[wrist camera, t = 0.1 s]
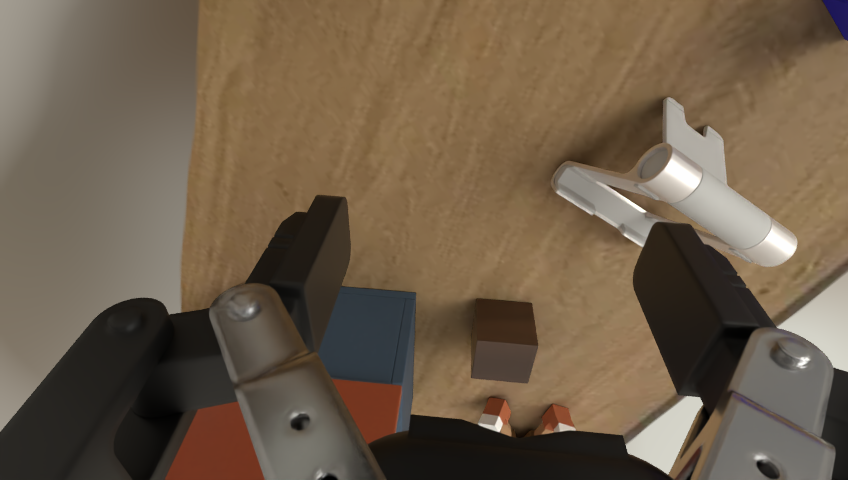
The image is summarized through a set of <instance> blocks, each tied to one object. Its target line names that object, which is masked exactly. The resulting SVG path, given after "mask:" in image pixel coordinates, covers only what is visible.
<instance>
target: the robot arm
mask: <svg viewBox="0 0 848 480" xmlns="http://www.w3.org/2000/svg"><path fill="white" fill-rule="evenodd" d="M350 250H351V243H350V230H349V217H348V205H347V200H346V198H345V197H339V196H326V195H317V196H316V197H315V199H314V201H313V202H312V204H311V206H310V208H309V210H308V212H307V213H306V212H295V213H294V214H293V215H291V216H290V217H288V218H287V219H286V220H284V221H283V222H282V223H281V225H280V226H279V228H278V230H277V231H276V233H275V235H274V237H273V238H272V240H271V241H270V243H269V245H268V248H266V250H265V251H264V253H263V254H262V256H261V258H260V259H259V261H258V263H257V264H256V266H255V268H254V269H253V271H252V273H251V274H250V276H249V278H248V279H247V281H246V283H245V284H242V285H239V286H235V287H233V288H230V289H229V290H227V291H225V292H223V293H222V294H221V295H219V296H218V297H217V298H216V299H215V300H214V302H213V303H212V305H211V307H210V308H207V309H202V310H196V311H190V312H183V313H176V314H170V315H169V314H168V312H167V309H166V307H165V306H164V304H163V303H161V302H160V301H158V300H156V299H152V298H136V299H130V300H127V301H123V302H120V303H118V304H115V305H113V306H111V307H109V308H108V309H106V310H105V311H103V312H102V313H100V314H99V315H98V316H97V317H96V318H95V319H94V320H93V321H92V322H91V323H90V325H89V326H88V327H87V328H86V329H85V331H84V332H83V333H82V334H81V336H80V337H79V338H78V339H77V340H76V342H75V343H74V344H73V345H72V346H71V347H70V349H69V350H68V351H67V352H66V354H65V355H64V356H63V357H62V358H61V360H60V361H59V362H58V363H57V364H56V366H55V367H54V368H53V369H52V370H51V372H50V373H49V374H48V375H47V376H46V378H45V379H44V380H43V381H42V382H41V384H40V385H39V386H38V387H37V389H36V390H35V391H34V392H33V393H32V394H31V396H30V397H29V398H28V399H27V400H26V402H25V403H24V404H23V405H22V407H21V408H20V409H19V410H18V411H17V413H16V414H15V415H14V416H13V417H12V419H11V420H10V421H9V422H8V423H7V425H6V426H5V427H4V428H3V430H2V431H1V432H0V480H165V478H166V476H167V474H168V472H169V469H170V467H171V465H172V463H173V461H174V459H175V457H176V455H177V453H178V451H179V448H180V446H181V444H182V442H183V440H184V438H185V436H186V434H187V432H188V430H189V427H190V425H191V423H192V421H193V419H194V417H195V415H196V413H197V411H198V409H202V408H207V407H212V406H217V405H223V404H228V403H233V402H238V403H239V406H240V409H241V412H242V414H243V417H244V420H245V423H246V426H247V429H248V432H249V435H250V438H251V441H252V444H253V447H254V449H255V452H256V455H257V458H258V461H259V464H260V467H261V470H262V473H263V476H264V479H265V480H848V372H846V371H843V370H839V369H836V368H833V366H832V364H831V362H830V360H829V359H828V357H827V356H826V355H825V354H824V353H823V352H822V351H821V350H820V349H819V348H817V347H816V346H815V345H814V344H812V343H811V342H809V341H808V340H806V339H804V338H803V337H801V336H798V335H796V334H794V333H792V332H789V331H786V330H782V329H778V328H777V327H776V326H775V325H774V323H773V322H772V320H771V319H770V318H769V316H768V315H767V314H766V312H765V311H764V309H763V308H762V307H761V305H760V304H759V302H758V301H757V300H756V298H755V297H754V296H753V294H752V293H751V291H750V290H749V289H748V288H746V284H745V283H744V282H743V280H742V279H741V277H740V276H737V272H736V271H735V269H734V268H733V266H732V265H731V264H730V262H729V261H728V259H727V258H726V257H724V256H723V255H722V254H720V253H719V252H718V251H717V250H715V249H714V248H713V247H711V246H710V245H707V244H704V243H703V242H702V240H701V239H700V237H699V236H698V234H697V233H696V231H695V230H694V229H693V227H692V226H691V225H690V224H686V223H672V222H656V223H654V224H653V226H652V227H651V229H650V232H649V234H648V237H647V239H646V241H645V244H644V246H643V249H642V251H641V254H640V256H639V259H638V261H637V264H636V266H635V269H634V274H633V287H634V291H635V293H636V296H637V298H638V300H639V303H640V305H641V308H642V310H643V312H644V315H645V317H646V319H647V322H648V324H649V327H650V329H651V331H652V334H653V336H654V339H655V341H656V343H657V346H658V348H659V350H660V353H661V355H662V358H663V360H664V362H665V365H666V367H667V370H668V372H669V374H670V377H671V379H672V381H673V384H674V386H675V389H676V391H677V393H678V395H683V396H695V397H700V398H701V400H702V402H703V406H702V407H701V408H700V410H699V411H698V413H697V415H696V417H695V420H694V421H693V424H692V426H691V428H690V430H689V432H688V435H687V436H686V439H685V441H684V443H683V445H682V447H681V449H680V452H679V454H678V456H677V458H676V460H675V462H674V465H673V467H672V469H671V471H670V472H669V474H668V475H667V474H666V473H664V472H663V471H662V470H660V469H658V468H657V467H655V466H653V465H651V464H650V463H648V462H646V461H644V460H642V459H640V458H637V457H635V456H633V455H630V454H628V453H627V449H626V445H625V442H624V438H623V435H614V434H604V433H593V432H583V431H573V430H567V431H561V432H554V433H548V434H542V435H535V436H529V437H522V438H516V437H511V436H508V435H505V434H502V433H500V432H497V431H494V430H491V429H488V428H485V427H482V426H479V425H476V424H473V423H471V422H468V421H465V420H462V419H452V418H441V417H431V416H421V415H410V424H409V430H407V431H402V432H397V433H393V434H390V435H386V436H384V437H382V438H379V439H377V440H374V441H373V442H371V443H369V444H367V443H366V441H365V439H364V437H363V435H362V434H361V432H360V430H359V428H358V426H357V425H356V423H355V421H354V419H353V417H352V415H351V414H350V412H349V410H348V408H347V406H346V404H345V403H344V401H343V399H342V397H341V395H340V394H339V392H338V390H337V388H336V386H335V384H334V383H333V381H332V379H331V377H330V375H329V373H328V372H327V370H326V368H325V366H324V364H323V363H322V361H321V359H320V357H319V356H318V352H319V349H320V346H321V343H322V340H323V337H324V334H325V331H326V328H327V326H328V323H329V320H330V317H331V314H332V311H333V308H334V305H335V302H336V300H337V297H338V294H339V291H340V288H341V285H342V282H343V279H344V276H345V274H346V271H347V268H348V264H349V260H350Z"/></svg>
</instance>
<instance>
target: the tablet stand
mask: <svg viewBox="0 0 848 480" xmlns="http://www.w3.org/2000/svg"><path fill="white" fill-rule="evenodd" d="M723 143H724V141H723V139H722V137H721V136H720V135H719V134H718V133H717V132H716V131H714V130H713V129H712V128H710V127H709V126H705V127H704V130H703V136H702V135H700V134H699V133H698V132H696V131H695V130H694V129H692V128H691V127H690V126H689V125H688V124H687V123H686V121H685V116H684V109H683V106H681V105H680V104H679V103H678V102H676V101H675V100H674V99H672V98H670V97H667V98H666V99H664V100H663V143H660V144H657V145H655V146H653V147H652V148H650V149H649V150H648V151H647V152H646V153H645V154H644V155H643V156H642V157H641V158H640V159H639V161H638V162H637V163H636V165H635V166H634V167H633V168H632V169H631V170H630V171H629V172H627V173H618V172H614V171H610V170H605V169H601V168H597V167H593V166H589V165H585V164H581V163H577V162H572V161H566V162H564V163H563V164H561V165H560V166H559V167H558V168H557V170H556V171H555V173H554V174H553V176H552V179H551V186H552V188H553V189H554V191H555V192H556V193H557V194H559V195H560V196H562V197H563V198H565V199H567V200H568V201H570V202H571V203H573V204H574V205H576V206H578V207H579V208H581V209H582V210H584V211H586V212H587V213H589V214H590V215H593V214H595V215H597V216H598V217H600V218H601V219H603V220H604V221H606V222H608V223H609V224H611V225H612V226H614V227H616V228H617V229H618V230H619V231H620V233H621V234H622V235H624V236H625V237H627V238H628V239H630V240H632V241H633V242H635V243H636V244H638V245H640V246H641V247H643V246H644V244H645V241H646V239H647V237H648V234H649V232H650V229H651V227H652V226H653V224H654V223H656V222H672V223H677V222H674V221H671V220H669V219H666V218H663V217H660V216H657V215H655V214H652V213H649V212H647V211H645V210H643V209H642V208H640V207H639V206H637V205H636V204H634V203H633V202H631V201H630V200H628V199H627V198H625V197H624V196H622V195H621V194H619V193H618V192H616V191H615V190H613V189H612V188H610V187H609V186H607V185H610V186H614V187H617V188H620V189H624V190H627V191H630V192H634V193H637V194H640V195H644V196H647V197H651V198H652V199H655V200H661V201H665V202H667V203H668V204H670V205H671V206H673V207H674V208H676V209H677V210H679V211H680V212H682V213H683V214H685V215H686V216H688V217H689V218H690V219H692V220H693V221H695V222H696V223H698V224H699V225H701V226H702V227H704V228H705V229H707V230H708V231H710V232H711V233H713V234H714V235H716V236H714V235H711V234H708V233H705V232H702V231H700V230H697V229H694V228H693V229H694V230H695V231H696V233H697V234H698V236H699V237H700V239H701V240H702V242H703V243H704V244H707V245H710V246H711V247H714V248H716V249H719V250H721V251H724V252H727V253H729V254H732V255H734V256H737V257H740V258H742V259H743V260H745V261H747V262H749V263H751V262H753V263H756V264H758V265H760V266H765V267H772V266H777V265H779V264H782V263H783V262H785V261H786V260H788V259H789V258H790V257H791V256H792V255H793V253H794V252H795V250H796V247H797V238H796V236H795V235H794V234H793V233H792V232H791V231H789V230H788V229H787V228H785V227H784V226H782V225H781V224H780V223H778V222H777V221H776V220H774V219H773V218H771V217H770V216H769V215H767V214H766V213H764V212H763V211H762V210H760V209H759V208H758V207H756V206H755V205H753V204H752V203H751V202H749V201H748V200H746V199H745V198H744V197H742V196H741V195H740V194H738V193H737V192H735V191H734V190H733V189H731V188H730V187H729V186H727V178H726V168H725V157H724V145H723ZM606 184H607V185H606Z"/></svg>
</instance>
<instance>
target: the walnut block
mask: <svg viewBox="0 0 848 480" xmlns="http://www.w3.org/2000/svg"><path fill="white" fill-rule="evenodd" d="M537 349H538V340H537V334H536V327H535V320H534V314H533V307H532V303H524V302H512V301H500V300H489V299H476V306H475V313H474V320H473V327H472V334H471V378H474V379H485V380H495V381H506V382H517V383H528V381H529V378H530V374H531V371H532V367H533V363H534V360H535V356H536V353H537Z"/></svg>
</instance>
